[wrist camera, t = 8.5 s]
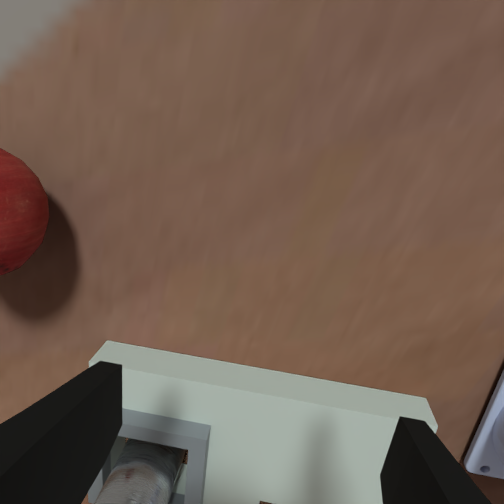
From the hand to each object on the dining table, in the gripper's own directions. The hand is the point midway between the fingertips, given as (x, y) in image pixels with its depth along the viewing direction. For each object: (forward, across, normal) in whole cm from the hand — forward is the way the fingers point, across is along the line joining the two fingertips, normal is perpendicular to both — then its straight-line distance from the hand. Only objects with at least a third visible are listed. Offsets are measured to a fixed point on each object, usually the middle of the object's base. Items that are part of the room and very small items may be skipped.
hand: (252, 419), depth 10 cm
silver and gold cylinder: (+10, +6, +12) cm, 17 cm away
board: (+10, 0, +14) cm, 17 cm away
